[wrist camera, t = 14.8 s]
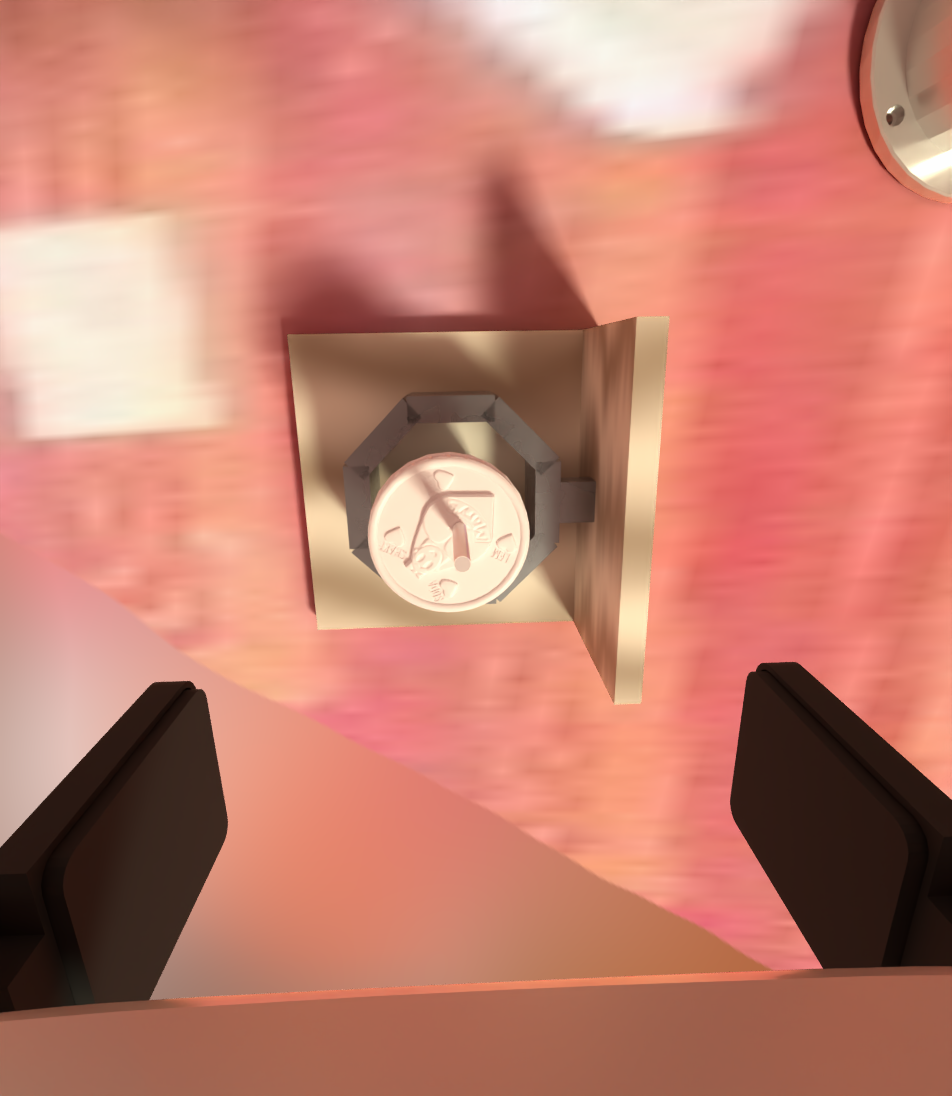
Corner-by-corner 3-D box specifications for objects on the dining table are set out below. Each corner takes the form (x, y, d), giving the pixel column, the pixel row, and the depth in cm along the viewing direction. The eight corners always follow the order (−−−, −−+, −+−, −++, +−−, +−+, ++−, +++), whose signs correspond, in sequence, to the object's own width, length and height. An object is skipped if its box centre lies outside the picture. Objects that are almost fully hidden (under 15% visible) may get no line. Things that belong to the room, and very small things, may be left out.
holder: (293, 335, 31) (222, 322, 21) (600, 330, 32) (669, 316, 22) (321, 621, 36) (274, 718, 26) (589, 612, 36) (641, 703, 27)
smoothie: (531, 489, 33) (591, 576, 19) (447, 568, 34) (448, 702, 20) (449, 402, 31) (451, 431, 18) (363, 487, 32) (305, 575, 19)
